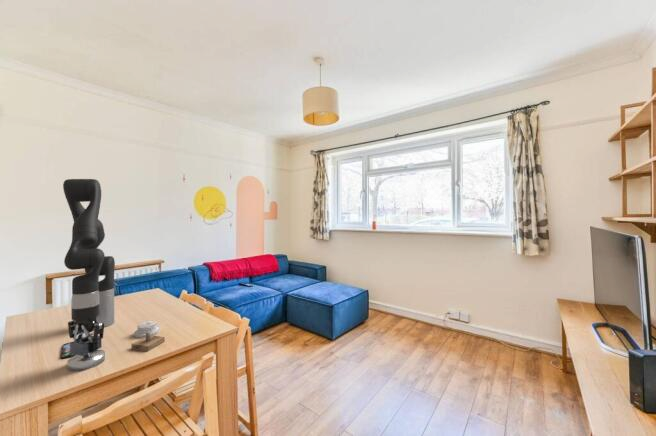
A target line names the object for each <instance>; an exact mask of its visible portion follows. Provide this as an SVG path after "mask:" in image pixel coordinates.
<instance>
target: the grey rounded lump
mask: <svg viewBox="0 0 656 436" xmlns="http://www.w3.org/2000/svg"><path fill="white" fill-rule="evenodd" d="M161 329H162V327H161V326H159V325H158V322H157V321H155V320H151V321H149V320H148V321H145V322H141V323H139V324H138V325H137V330H135V331H134V333H133V336H134V337H135V338H139V339H142V338H144V337H146V333H148V332H151V335H152V336H156V335H157V334H159V333H160V332H162V331H161Z"/></svg>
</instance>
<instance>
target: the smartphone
mask: <svg viewBox="0 0 656 436" xmlns="http://www.w3.org/2000/svg"><path fill="white" fill-rule="evenodd" d="M70 342H71V341H70ZM70 342H67V343H66V342H65V343H64V344H63V345H62V346H61V355H60V360H66V359H70V358H71V357H73V356H75V355H74V354H70Z"/></svg>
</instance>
